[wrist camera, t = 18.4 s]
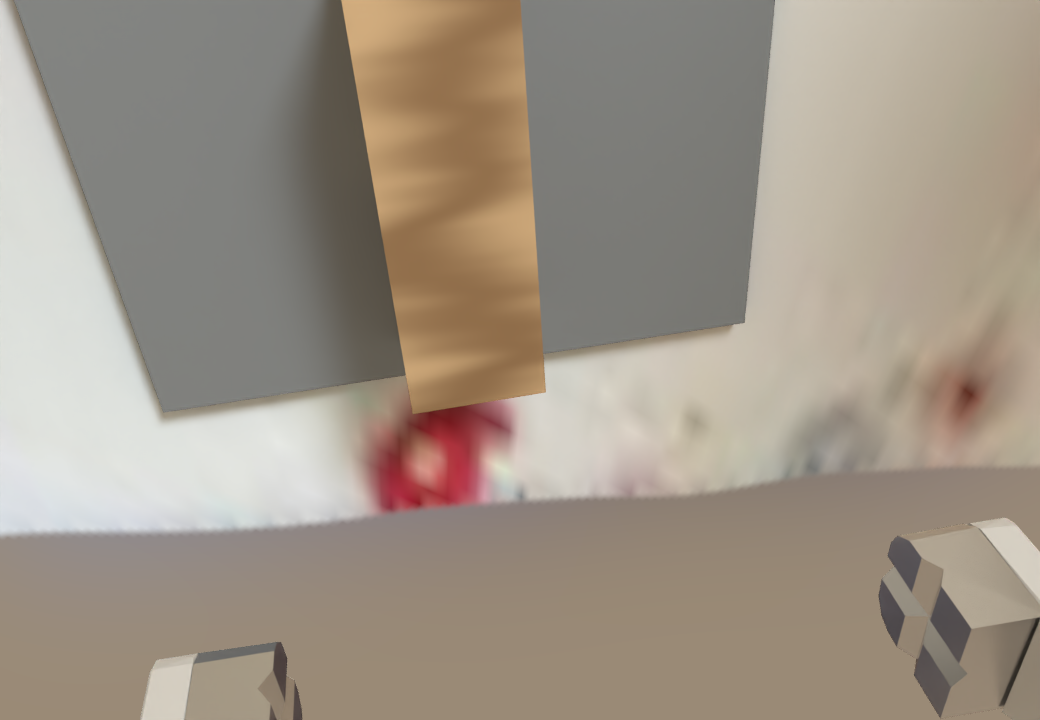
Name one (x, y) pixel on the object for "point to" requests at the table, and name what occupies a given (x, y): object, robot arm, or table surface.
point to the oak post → (453, 192)
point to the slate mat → (349, 187)
